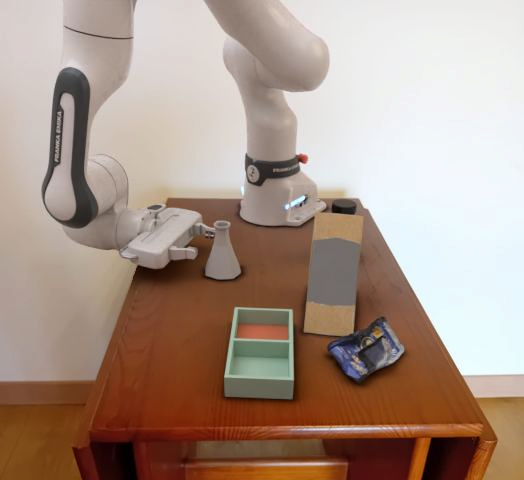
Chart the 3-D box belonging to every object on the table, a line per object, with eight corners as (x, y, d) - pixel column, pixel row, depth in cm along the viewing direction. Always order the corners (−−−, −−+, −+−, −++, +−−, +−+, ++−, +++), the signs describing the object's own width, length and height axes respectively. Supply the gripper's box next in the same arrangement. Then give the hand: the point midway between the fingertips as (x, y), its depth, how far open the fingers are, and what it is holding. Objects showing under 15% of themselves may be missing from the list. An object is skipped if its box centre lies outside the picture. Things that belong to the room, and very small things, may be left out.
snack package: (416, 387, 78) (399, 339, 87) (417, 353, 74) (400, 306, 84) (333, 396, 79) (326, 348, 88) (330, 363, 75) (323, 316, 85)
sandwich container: (301, 333, 89) (308, 249, 80) (308, 288, 101) (314, 211, 92) (354, 337, 88) (366, 253, 79) (354, 291, 100) (364, 214, 91)
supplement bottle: (328, 268, 108) (335, 210, 101) (315, 254, 113) (320, 198, 106) (359, 264, 110) (368, 207, 103) (345, 250, 115) (352, 195, 108)
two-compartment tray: (234, 324, 90) (234, 307, 88) (291, 327, 90) (292, 309, 88) (224, 396, 75) (224, 377, 73) (292, 399, 75) (293, 380, 73)
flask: (236, 282, 102) (236, 233, 96) (199, 278, 103) (197, 229, 97) (245, 266, 108) (245, 218, 102) (210, 262, 109) (208, 214, 103)
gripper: (111, 239, 96) (182, 250, 93) (162, 200, 112) (224, 209, 109) (116, 270, 100) (184, 282, 97) (164, 228, 116) (225, 238, 113)
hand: (206, 243), depth 103 cm, fingers open, 8 cm apart
